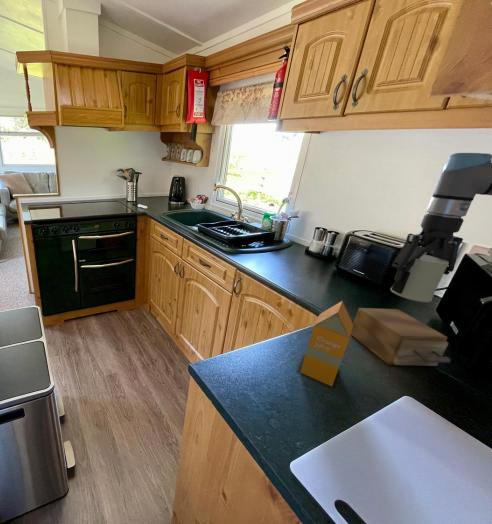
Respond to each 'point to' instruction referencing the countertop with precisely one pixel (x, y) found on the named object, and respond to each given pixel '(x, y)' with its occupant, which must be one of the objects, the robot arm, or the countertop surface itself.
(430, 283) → the can
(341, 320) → the orange juice
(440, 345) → the drawer
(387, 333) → the cabinet
